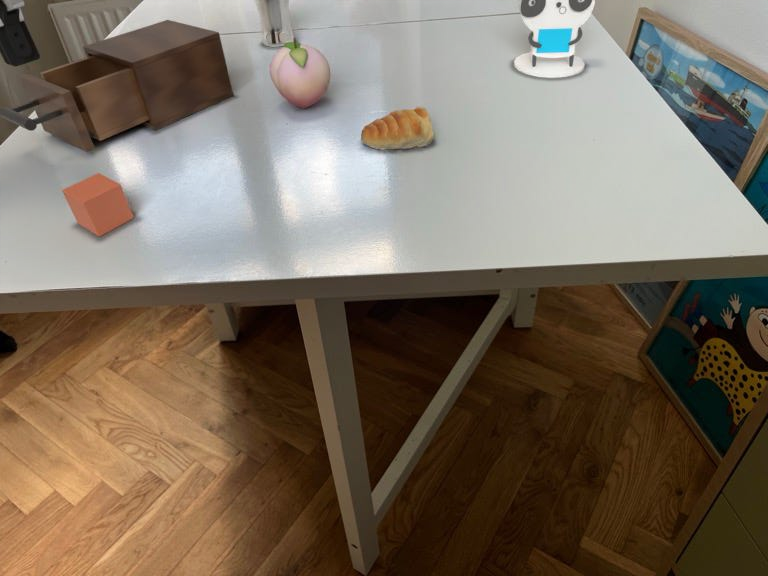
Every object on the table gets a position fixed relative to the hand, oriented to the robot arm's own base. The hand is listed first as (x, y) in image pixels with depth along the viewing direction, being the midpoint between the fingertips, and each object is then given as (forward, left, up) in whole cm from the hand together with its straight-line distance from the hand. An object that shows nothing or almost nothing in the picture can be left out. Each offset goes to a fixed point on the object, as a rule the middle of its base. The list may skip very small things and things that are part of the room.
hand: (23, 61), depth 61 cm
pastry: (+37, -21, -14) cm, 45 cm away
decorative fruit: (+33, -3, -14) cm, 36 cm away
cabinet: (+18, +13, -14) cm, 26 cm away
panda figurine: (+72, -16, -14) cm, 75 cm away
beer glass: (+45, +27, -14) cm, 54 cm away
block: (0, -14, -14) cm, 20 cm away
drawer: (+5, +10, -13) cm, 17 cm away
